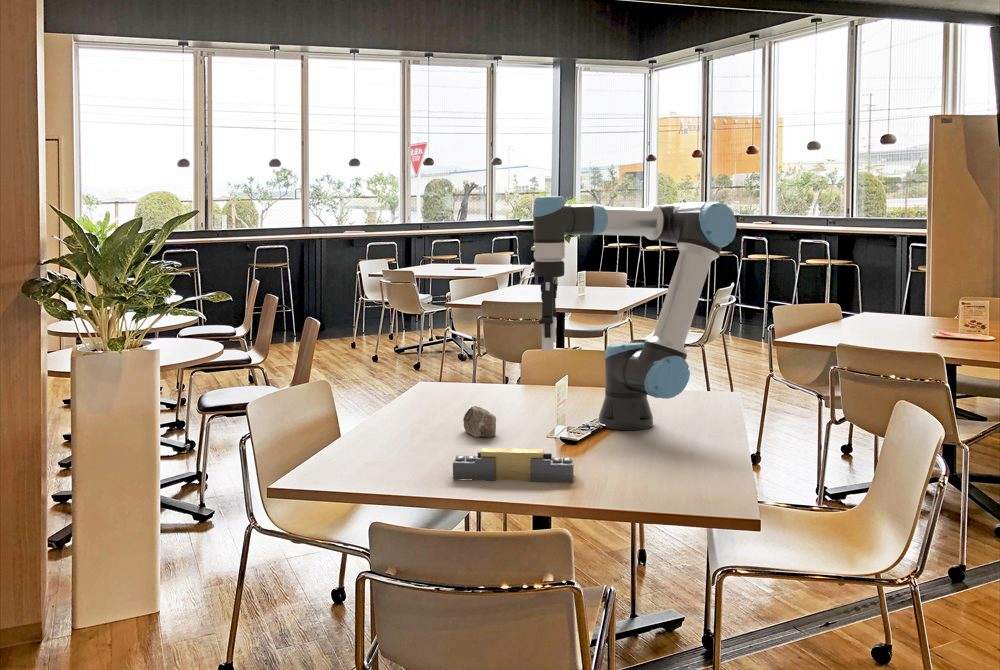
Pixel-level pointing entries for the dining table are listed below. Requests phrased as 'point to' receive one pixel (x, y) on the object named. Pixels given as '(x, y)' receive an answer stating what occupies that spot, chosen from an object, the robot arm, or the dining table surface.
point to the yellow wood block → (512, 462)
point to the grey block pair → (539, 468)
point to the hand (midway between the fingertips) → (549, 346)
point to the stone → (480, 422)
